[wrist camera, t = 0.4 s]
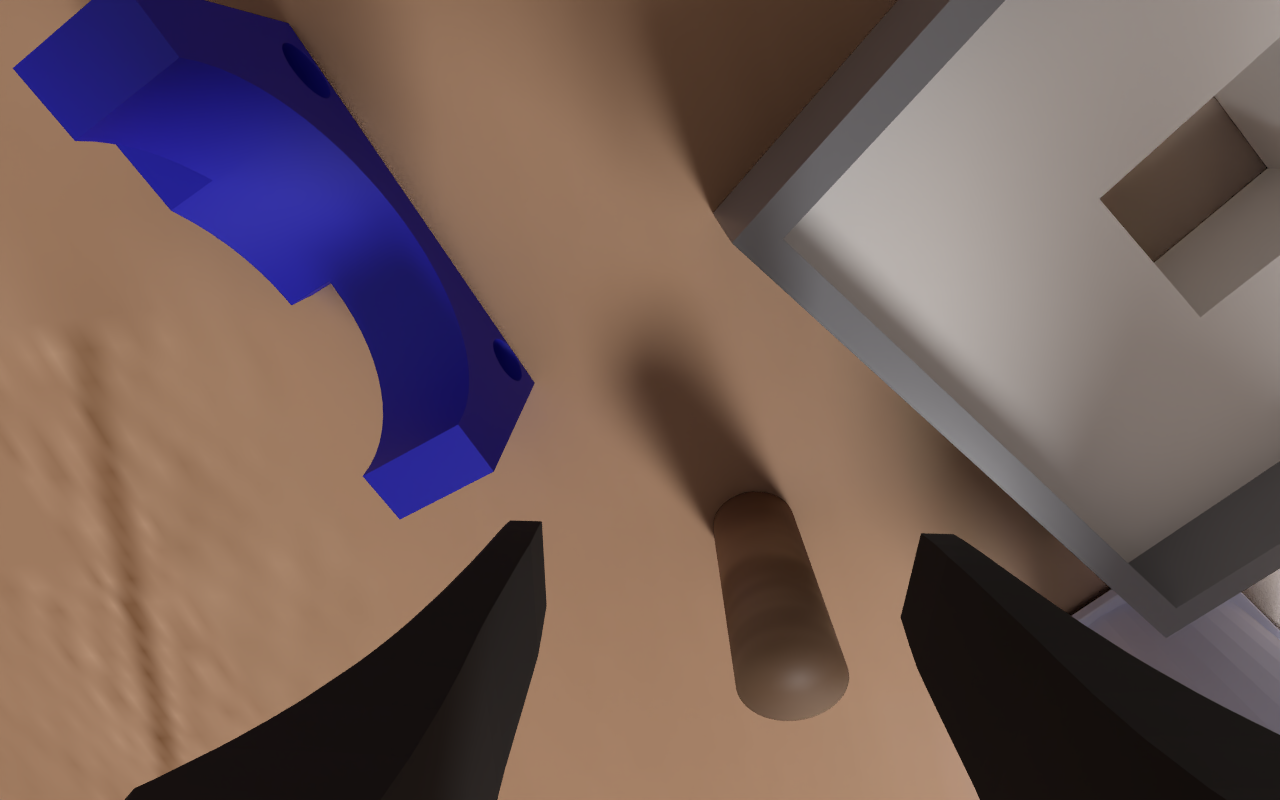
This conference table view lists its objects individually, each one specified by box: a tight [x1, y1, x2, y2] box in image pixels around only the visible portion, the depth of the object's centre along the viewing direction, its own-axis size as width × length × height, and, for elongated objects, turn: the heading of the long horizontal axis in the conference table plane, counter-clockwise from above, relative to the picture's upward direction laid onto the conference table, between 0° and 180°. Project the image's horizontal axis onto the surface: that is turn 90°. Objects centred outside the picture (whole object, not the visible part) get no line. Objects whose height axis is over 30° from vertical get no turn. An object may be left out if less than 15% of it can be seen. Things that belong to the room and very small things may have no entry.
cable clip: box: [13, 0, 534, 519], centre depth 17 cm, size 12×4×6 cm, turn 30°
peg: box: [713, 492, 849, 721], centre depth 20 cm, size 3×3×7 cm
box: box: [713, 0, 1280, 638], centre depth 15 cm, size 18×18×5 cm
